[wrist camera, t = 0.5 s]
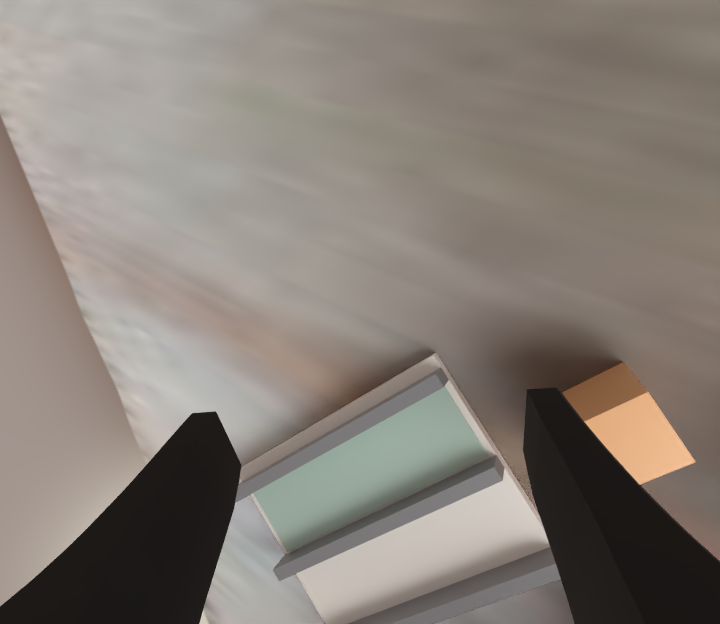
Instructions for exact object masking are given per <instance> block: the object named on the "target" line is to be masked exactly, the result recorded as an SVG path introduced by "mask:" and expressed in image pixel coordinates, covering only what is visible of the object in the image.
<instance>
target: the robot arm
mask: <svg viewBox="0 0 720 624" xmlns="http://www.w3.org/2000/svg"><path fill="white" fill-rule="evenodd" d="M523 452H524V456H525V461H526V466H527V471H528V475H529V480H530V484H531V489H532V493H533V497H534V500H535V503H536V506H537V509H538V512H539V515H540V518H541V521H542V524H543V527H544V530H545V533H546V536H547V539H548V542H549V545H550V548H551V551H552V554H553V557H554V560H555V563H556V566H557V569H558V572H559V575H560V578H561V581H562V584H563V587H564V590H565V593H566V596H567V599H568V602H569V605H570V609H571V612H572V616H573V619H574V622H575V624H720V561H719V560H718V559H717V558H716V557H714V556H713V555H712V554H711V553H710V552H709V551H708V550H707V549H706V548H704V547H703V546H702V545H701V544H700V543H699V542H698V541H697V540H696V539H694V538H693V537H692V536H691V535H690V534H689V533H688V532H687V531H686V530H685V529H684V528H683V527H682V526H681V525H680V524H679V523H678V522H676V521H675V520H674V519H673V518H672V517H671V516H670V515H669V514H668V513H667V512H666V511H665V510H664V509H663V508H662V507H661V506H660V505H659V504H658V503H657V502H656V501H655V500H654V499H653V498H652V497H651V496H650V495H649V494H648V493H647V492H646V491H645V490H644V488H643V487H642V486H641V485H640V484H639V483H638V482H637V481H636V480H635V479H634V478H633V477H632V476H631V475H630V474H629V473H628V471H627V470H626V469H625V468H624V467H623V466H622V465H621V464H620V463H619V461H618V460H617V459H616V458H615V457H614V456H613V455H612V454H611V453H610V452H609V450H608V449H607V448H606V447H605V446H604V445H603V443H602V442H601V441H600V440H599V439H598V438H597V436H596V435H595V434H594V433H593V432H592V430H591V429H590V428H589V427H588V426H587V424H586V423H585V422H584V421H583V419H582V418H581V417H580V416H579V414H578V413H577V412H576V411H575V409H574V408H573V407H572V405H571V404H570V403H569V402H568V400H567V399H566V398H565V396H564V395H563V394H562V392H561V391H560V390H559V389H557V388H544V389H530V390H527V398H526V414H525V429H524V445H523ZM240 471H241V463H240V461H239V459H238V457H237V455H236V453H235V451H234V449H233V446H232V444H231V442H230V440H229V438H228V436H227V434H226V432H225V430H224V427H223V425H222V423H221V421H220V419H219V417H218V415H217V413H216V412H203V413H192V414H191V415H190V416H189V417H188V418H187V420H186V421H185V422H184V423H183V424H182V425H181V426H180V427H179V428H178V430H177V431H176V432H175V433H174V434H173V435H172V436H171V438H170V439H169V440H168V441H167V442H166V443H165V445H164V446H163V447H162V448H161V449H160V450H159V451H158V453H157V454H156V455H155V456H154V457H153V458H152V459H151V461H150V462H149V463H148V464H147V465H146V466H145V467H144V469H143V470H142V471H141V472H140V473H139V474H138V475H137V476H136V478H135V479H134V480H133V481H132V482H131V483H130V484H129V485H128V486H127V487H126V489H125V490H124V491H123V492H122V493H121V494H120V495H119V496H118V497H117V498H116V499H115V500H114V501H113V502H112V503H111V504H110V506H108V507H107V508H106V509H105V511H104V512H103V513H102V514H101V515H100V516H99V517H98V518H97V519H96V520H95V521H94V522H93V523H92V524H91V525H90V526H89V527H88V528H87V529H86V530H85V531H84V532H83V533H82V534H81V535H80V536H79V537H78V538H77V539H76V540H75V541H74V542H73V543H72V544H71V545H70V546H69V547H68V548H67V549H66V550H65V551H64V552H63V553H62V554H60V555H59V556H58V557H57V558H56V559H55V560H54V561H53V562H52V563H50V564H49V565H48V566H47V567H46V568H45V569H44V570H43V571H42V572H41V573H40V574H38V575H37V576H36V577H35V578H34V579H33V580H32V581H30V582H29V583H28V584H27V585H26V586H25V587H23V588H22V589H21V590H20V591H18V592H17V593H16V594H15V595H14V596H12V597H11V598H10V599H9V600H8V601H6V602H5V603H4V604H3V605H2V606H0V624H199V622H200V619H201V615H202V611H203V608H204V604H205V601H206V598H207V594H208V591H209V588H210V585H211V581H212V578H213V575H214V572H215V569H216V565H217V562H218V559H219V556H220V553H221V549H222V546H223V543H224V540H225V536H226V533H227V530H228V526H229V523H230V520H231V516H232V513H233V509H234V505H235V500H236V495H237V490H238V484H239V478H240Z"/></svg>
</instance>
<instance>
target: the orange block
mask: <svg viewBox="0 0 720 624" xmlns="http://www.w3.org/2000/svg"><path fill="white" fill-rule="evenodd" d="M562 394H563V395H564V396H565V398H566V399H567V400H568V402H569V403H570V404H571V405H572V407H573V408H574V409H575V411H576V412H577V413H578V414H579V416H580V417H581V418H582V419H583V421H584V422H585V423H586V424H587V426H588V427H589V428H590V429H591V430H592V432H593V433H594V434H595V435H596V436H597V438H598V439H599V440H600V441H601V442H602V443H603V445H604V446H605V447H606V448H607V449H608V450H609V452H610V453H611V454H612V455H613V456H614V457H615V458H616V459H617V460H618V461H619V463H620V464H621V465H622V466H623V467H624V468H625V469H626V470H627V471H628V473H629V474H630V475H631V476H632V477H633V478H634V479H635V480H636V481H637V482H638V483H639V484H642V483H645V482H647V481H650V480H652V479H655V478H657V477H660V476H662V475H665V474H667V473H670V472H672V471H675V470H677V469H680V468H682V467H685V466H687V465H690V464H692V463H695V460H694V459H693V457H692V456H691V454H690V453H689V452H688V450H687V449H686V447H685V446H684V444H683V443H682V441H681V440H680V438H679V437H678V435H677V434H676V432H675V431H674V429H673V428H672V426H671V425H670V423H669V422H668V420H667V419H666V417H665V416H664V414H663V413H662V411H661V410H660V409H659V407H658V406H657V404H656V403H655V401H654V400H653V398H652V397H651V395H650V394H649V392H648V391H647V390H646V389H645V387H644V386H643V385H642V384H641V383H640V381H639V380H638V379H637V378H636V377H635V375H634V374H633V373H632V372H631V371H630V370H629V368H628V367H627V366H626V365H625V364H624V362H622V363H620V364H618V365H616V366H614V367H612V368H610V369H608V370H606V371H604V372H602V373H600V374H598V375H596V376H594V377H592V378H590V379H588V380H586V381H584V382H582V383H580V384H578V385H576V386H574V387H572V388H570V389H568V390H566V391H564V392H562Z"/></svg>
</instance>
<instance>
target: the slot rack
mask: <svg viewBox="0 0 720 624" xmlns="http://www.w3.org/2000/svg"><path fill="white" fill-rule="evenodd" d="M240 477H241V479H242V482H241V483H240V484H238V490H237V495H236V500H235V503H236V502H238V501H239V500H241V499H243V498H245V497H247V496H248V495H251V496H252V498H253V500H254V501H255V503H256V505H257V507H258V508H259V510H260V512H261V514H262V515H263V517H264V519H265V521H266V522H267V524H268V526H269V528H270V529H271V531H272V533H273V534H274V536H275V538H276V540H277V541H278V543H279V545H280V547H281V548H282V550H283V552H284V554H285V556H284V557H283V558H282V559H281V560H280V562H279V563H278V564H277V565H276V567H275V568H274V569H273V571H274V573H275V574H276V576H277V578H278V580H279V581H280V580H283V579H285V578H287V577H289V576H292V575H294V574H297V576H298V578H299V580H300V581H301V583H302V585H303V586H304V588H305V590H306V592H307V593H308V595H309V597H310V599H311V600H312V602H313V604H314V606H315V607H316V609H317V611H318V612H319V614H320V616H321V618H322V619H323V621H324V623H325V624H434V623H437V622H440V621H443V620H445V619H448V618H451V617H454V616H457V615H460V614H463V613H465V612H468V611H471V610H474V609H477V608H480V607H483V606H485V605H488V604H491V603H494V602H497V601H500V600H503V599H505V598H508V597H511V596H514V595H517V594H520V593H523V592H525V591H528V590H531V589H534V588H537V587H540V586H543V585H545V584H548V583H551V582H554V581H557V580H560V579H561V578H560V575H559V572H558V569H557V566H556V563H555V560H554V557H553V554H552V551H551V548H550V545H549V542H548V539H547V536H546V533H545V530H544V527H543V524H542V521H541V518H540V515H539V514H538V512H537V511H536V509H535V508H534V506H533V504H532V503H531V501H530V500H529V498H528V496H527V495H526V493H525V492H524V490H523V489H522V487H521V485H520V484H519V482H518V481H517V479H516V478H515V476H514V474H513V473H512V471H511V470H510V468H509V467H508V465H507V463H506V462H505V460H504V459H503V457H502V456H501V454H500V452H499V451H498V449H497V448H496V446H495V444H494V443H493V441H492V440H491V438H490V437H489V435H488V433H487V432H486V430H485V429H484V427H483V426H482V424H481V422H480V421H479V419H478V418H477V416H476V415H475V413H474V411H473V410H472V408H471V407H470V405H469V403H468V402H467V400H466V399H465V397H464V396H463V394H462V392H461V391H460V389H459V388H458V386H457V385H456V383H455V381H454V380H453V378H452V377H451V375H450V374H449V372H448V370H447V369H446V367H445V366H444V364H443V363H442V361H441V359H440V358H439V356H438V355H437V353H434V354H432V355H431V356H429V357H427V358H425V359H424V360H422V361H420V362H419V363H417V364H415V365H414V366H412V367H410V368H408V369H407V370H405V371H403V372H402V373H400V374H398V375H397V376H395V377H393V378H392V379H390V380H388V381H386V382H385V383H383V384H381V385H380V386H378V387H376V388H375V389H373V390H371V391H369V392H368V393H366V394H364V395H363V396H361V397H359V398H358V399H356V400H354V401H352V402H351V403H349V404H347V405H346V406H344V407H342V408H341V409H339V410H337V411H335V412H334V413H332V414H330V415H329V416H327V417H325V418H324V419H322V420H320V421H319V422H317V423H315V424H313V425H312V426H310V427H308V428H307V429H305V430H303V431H302V432H300V433H298V434H296V435H295V436H293V437H291V438H290V439H288V440H286V441H285V442H283V443H281V444H279V445H278V446H276V447H274V448H273V449H271V450H269V451H268V452H266V453H264V454H263V455H261V456H259V457H257V458H256V459H254V460H252V461H251V462H249V463H247V464H246V465H244V466H242V467H241V471H240Z"/></svg>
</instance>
